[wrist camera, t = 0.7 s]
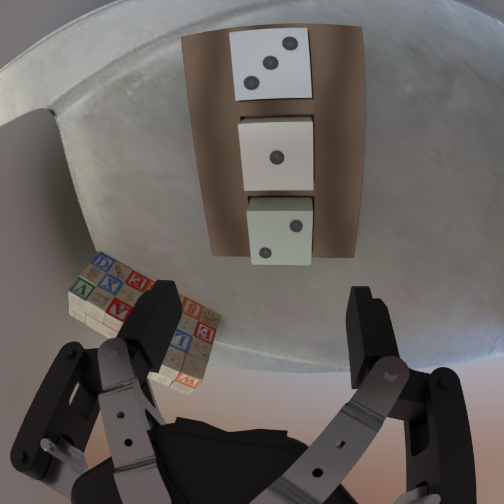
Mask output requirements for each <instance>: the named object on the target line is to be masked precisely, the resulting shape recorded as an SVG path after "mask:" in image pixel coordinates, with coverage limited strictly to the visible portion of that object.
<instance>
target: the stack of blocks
mask: <svg viewBox="0 0 504 504" xmlns="http://www.w3.org/2000/svg"><path fill="white" fill-rule="evenodd" d="M154 284H155V282H154V281H152V280H149V279H148V278H146V277H144V276H142V275H141V274H139V273H137V272H135V271H133V270H132V269H130V268H128V267H126V266H125V265H123V264H121V263H119V262H117V261H115V260H114V259H112V258H111V257H109V256H107V255H105V254H103V253H102V252H100V253H99V254H98V255H97V256H96V257H95V258H94V260H93V261H92V262H91V263H90V264H89V265H88V266H87V267H86V269H85V270H84V271H83V272H82V273H81V275H80V277H79V278H78V279H77V280H76V281H75V283H74V284H73V285H72V287H71V288H70V289H69V314H70V315H71V316H73V317H74V318H76V319H78V320H79V321H81V322H82V323H85V324H86V325H87V326H89V327H90V328H92V329H94V330H95V331H97V332H99V333H101V334H103V335H104V336H106V337H108V338H110V339H111V338H116V336H117V335H118V333H119V331H120V329H121V328H122V326H123V324H124V322H125V320H126V319H127V317H128V315H129V314H130V313H131V310H132V308H133V307H134V305H135V303H136V302H137V300H138V298H139V297H140V296H141V295H142V294H143V293H144V292H146V291H147V290H151V289H152V287H153V285H154ZM178 294H179V293H178ZM179 297H180V300H181V303H182V317H181V319H180V322H179V324H178V327H177V329H176V331H175V334H174V336H173V339H172V341H171V343H170V346H169V348H168V351H167V353H166V356H165V358H164V361H163V363H162V366H161V368H160V371H159V373H154V372H149V374H148V378H150V379H152V380H154V381H157V382H159V383H162V384H164V385H166V386H169V387H170V388H172V389H175V390H177V391H179V392H182V393H184V394H187V395H189V394H190V393H191V392H192V391H193V390H194V389H195V388H196V387H197V386H198V385H199V384H200V383H201V382H202V380H203V377H204V373H205V370H206V366H207V363H208V360H209V356H210V353H211V349H212V345H213V341H214V337H215V333H216V329H217V327H218V323H219V320H220V316H221V315H220V314H218V313H216V312H214V311H212V310H210V309H208V308H206V307H204V306H202V305H200V304H198V303H196V302H194V301H192V300H190V299H188V298H186V297H184V296H182V295H181V294H179Z"/></svg>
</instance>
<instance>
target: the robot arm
mask: <svg viewBox="0 0 504 504" xmlns="http://www.w3.org/2000/svg"><path fill="white" fill-rule="evenodd" d="M181 317H182V303H181V300H180V297H179V294H178V291H177V288H176V285H175V282H174V281H171V280H157V281H156V282H155V284H154V285H153V287H152V289H151V290H147V291H146V292H144V293H143V294H142V295H141V296H140V297H139V298H138V300H137V302H136V303H135V305H134V307H133V308H132V310H131V313H130V314H129V315H128V317H127V319H126V320H125V322H124V324H123V326H122V328H121V329H120V331H119V333H118V335H117V336H116V338H111V339H108V340H106V341H105V342H103V343H102V344H101V346H100V347H99V348H95V349H84V348H83V347H82V345H81V344H80V343H79V342H69V343H67V344H65V345H64V346H63V347H62V348H61V350H60V351H59V353H58V355H57V356H56V358H55V360H54V362H53V363H52V365H51V367H50V369H49V371H48V372H47V374H46V376H45V378H44V380H43V382H42V384H41V386H40V388H39V390H38V392H37V394H36V395H35V397H34V400H33V402H32V404H31V406H30V408H29V410H28V412H27V414H26V416H25V418H24V421H23V423H22V425H21V427H20V430H19V432H18V434H17V437H16V439H15V442H14V444H13V447H12V449H11V453H10V458H11V463H12V465H13V467H14V468H15V469H16V470H17V471H19V472H21V473H23V474H25V475H27V476H29V477H30V478H31V479H33V480H35V481H37V482H39V483H42V484H44V485H46V486H48V487H51V488H52V489H54V490H55V491H57V492H59V493H60V494H62V495H64V496H66V497H67V498H69V499H71V503H72V504H358V503H357V502H356V501H355V499H354V498H353V497H352V496H351V495H350V494H349V492H348V491H347V490H346V489H345V488H344V486H343V485H342V484H341V482H342V480H343V479H344V478H345V477H346V475H347V474H348V473H349V472H350V470H351V469H352V468H353V467H354V465H355V464H356V463H357V461H358V460H359V459H360V457H361V456H362V455H363V453H364V452H365V450H366V449H367V447H368V446H369V445H370V443H371V442H372V440H373V439H374V437H375V436H376V434H377V433H378V431H379V430H380V428H381V427H382V425H383V422H384V420H385V418H386V417H390V418H394V419H399V420H404V430H405V445H406V472H407V473H406V475H407V477H406V479H407V480H406V484H407V485H406V486H407V487H406V488H407V489H406V493H404V494H402V495H401V496H399V497H398V498H397V499H396V501H395V502H394V504H477V503H476V502H477V501H476V476H475V464H474V454H473V446H472V439H471V432H470V426H469V421H468V415H467V410H466V405H465V400H464V396H463V391H462V387H461V383H460V379H459V377H458V375H457V374H456V373H455V372H454V371H453V370H451V369H449V368H446V367H440V368H437V369H435V370H434V371H433V372H432V373H431V374H429V373H424V372H419V371H415V370H412V369H410V368H409V367H408V366H407V364H406V363H405V362H404V361H403V360H402V359H401V358H400V356H399V352H398V347H397V343H396V339H395V335H394V331H393V327H392V323H391V319H390V315H389V312H388V308H387V306H386V305H385V304H384V302H383V301H382V300H381V299H380V298H375V299H372V295H371V291H370V288H369V286H352V287H351V291H350V296H349V301H348V306H347V311H346V331H347V340H348V350H349V360H350V372H351V385H352V389H358V390H357V391H356V393H355V394H354V395H353V397H352V398H351V399H350V401H349V402H348V403H346V404H345V405H344V406H343V407H342V408H341V410H340V411H339V412H338V413H337V415H336V416H335V417H334V418H333V420H332V421H331V422H330V423H329V425H328V426H327V427H326V428H325V429H324V431H323V432H322V433H321V434H320V435H319V436H318V438H317V439H316V440H315V441H314V442H313V443H312V444H311V445H310V446H307V445H306V444H305V443H303V442H301V441H299V440H296V439H294V438H291V437H287V431H285V430H267V429H254V430H246V431H237V432H226V431H224V430H221V429H219V428H216V427H214V426H211V425H209V424H207V423H204V422H202V421H196V420H190V419H186V418H181V417H177V418H176V421H175V423H171V424H166V423H165V421H164V419H163V417H162V415H161V413H160V411H159V409H158V406H157V403H156V400H155V397H154V394H153V391H152V388H151V385H150V383H149V379H148V378H147V377H148V374H149V372H154V373H159V371H160V368H161V366H162V363H163V361H164V358H165V356H166V353H167V351H168V348H169V346H170V343H171V341H172V339H173V336H174V334H175V331H176V329H177V327H178V324H179V322H180V319H181ZM77 383H78V384H79V387H78V390H77V392H76V394H75V396H74V398H73V400H72V402H71V405H69V399H70V396H71V394H72V392H73V390H74V388H75V386H76V384H77ZM100 409H101V414H102V419H103V424H104V428H105V433H106V437H107V440H108V445H109V449H110V452H111V457H109V458H108V459H106V460H105V461H103V462H102V463H100V464H98V465H97V466H95V467H93V468H92V469H90V470H88V471H87V469H88V465H87V463H86V460H85V456H84V451H85V448H86V445H87V442H88V440H89V437H90V434H91V432H92V429H93V427H94V424H95V421H96V419H97V416H98V414H99V411H100ZM85 471H87V472H85Z"/></svg>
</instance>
